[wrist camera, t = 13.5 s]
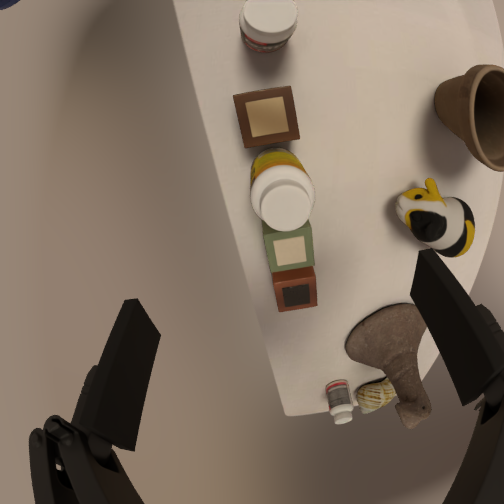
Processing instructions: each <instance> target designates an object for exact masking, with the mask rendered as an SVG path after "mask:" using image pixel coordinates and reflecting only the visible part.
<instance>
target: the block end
mask: <svg viewBox="0 0 504 504" xmlns="http://www.w3.org/2000/svg"><path fill="white" fill-rule="evenodd" d="M272 277H273V285H274V290H275V295H276V300H277V306H278V311H279V312H284V311H291V310H297V309H303V308H309V307H314V306H317V289H316V276H315V272H314V269H313V266H308V267H303V268H297V269H291V270H285V271H279V272H272Z"/></svg>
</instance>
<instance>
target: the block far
mask: <svg viewBox="0 0 504 504" xmlns="http://www.w3.org/2000/svg"><path fill="white" fill-rule="evenodd" d="M262 227H263V237H264V242H265V247H266V252H267V256H268V261H269V266H270V271H271V273H272V272H279V271H285V270H291V269H297V268H303V267H308V266H314V265H315V263H314V250H313V239H312V229H311V225H310V222H309V220H307V221H306V222H305V224H303V225H302V226H301V227H299V228H298V229H295V230H292V231H278V230H275V229H273V228H271V227H270V226H268V225H267V224H266V222H265V221H263V220H262Z"/></svg>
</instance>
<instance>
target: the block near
mask: <svg viewBox="0 0 504 504" xmlns="http://www.w3.org/2000/svg"><path fill="white" fill-rule="evenodd" d="M233 99H234V103H235V108H236V112H237V116H238V121H239V125H240V130H241V134H242V139H243V143H244V148H249V147H255V146H260V145H266V144H272V143H278V142H284V141H290V140H297V139H300V135H299V129H298V123H297V117H296V111H295V105H294V100H293V95H292V89H291V86H284V87H277V88H270V89H264V90H258V91H252V92H247V93H242V94H237V95H233Z"/></svg>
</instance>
